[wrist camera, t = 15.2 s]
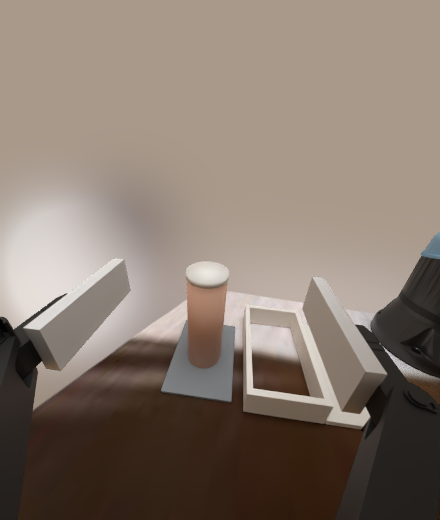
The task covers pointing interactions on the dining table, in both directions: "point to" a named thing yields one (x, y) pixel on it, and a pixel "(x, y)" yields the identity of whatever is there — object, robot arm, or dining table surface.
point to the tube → (205, 311)
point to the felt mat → (202, 371)
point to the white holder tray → (320, 389)
